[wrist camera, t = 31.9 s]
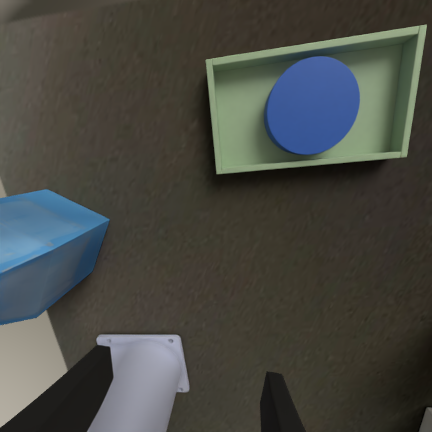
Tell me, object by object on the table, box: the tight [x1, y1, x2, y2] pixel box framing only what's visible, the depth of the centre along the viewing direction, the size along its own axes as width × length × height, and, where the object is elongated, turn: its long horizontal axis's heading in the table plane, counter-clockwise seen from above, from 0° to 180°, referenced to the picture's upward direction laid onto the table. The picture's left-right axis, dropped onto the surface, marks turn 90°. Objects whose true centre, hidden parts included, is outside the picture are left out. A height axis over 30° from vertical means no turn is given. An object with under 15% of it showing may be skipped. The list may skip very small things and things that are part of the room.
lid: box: [264, 56, 360, 155], centre depth 14 cm, size 6×6×2 cm
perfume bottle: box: [0, 189, 110, 325], centre depth 14 cm, size 6×6×12 cm
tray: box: [206, 25, 427, 174], centre depth 14 cm, size 13×7×2 cm, turn 96°
